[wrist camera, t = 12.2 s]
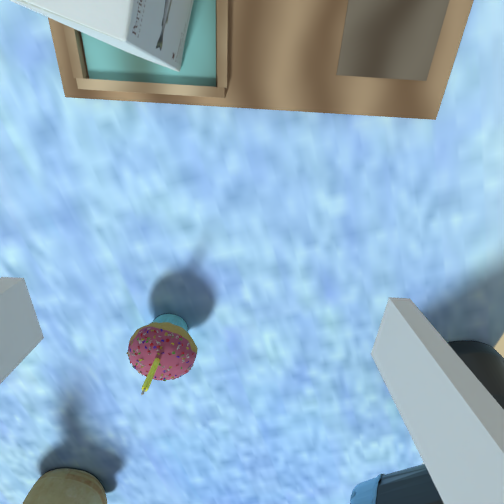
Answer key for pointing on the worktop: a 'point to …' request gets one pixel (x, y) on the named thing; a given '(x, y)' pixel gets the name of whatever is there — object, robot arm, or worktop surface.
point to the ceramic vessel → (66, 488)
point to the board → (285, 57)
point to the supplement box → (126, 24)
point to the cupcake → (162, 349)
